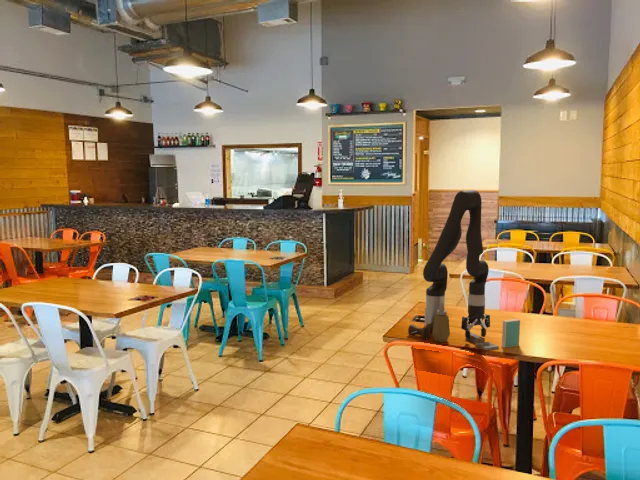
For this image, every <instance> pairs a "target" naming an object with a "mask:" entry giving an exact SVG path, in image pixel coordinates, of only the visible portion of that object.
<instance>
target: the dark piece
mask: <svg viewBox="0 0 640 480" xmlns="http://www.w3.org/2000/svg"><path fill="white" fill-rule="evenodd" d="M465 340H467V341H469V342H470V343H473V344H475V347H477V348H479V349H481V350H484V351H491V350H498V349H499V347H500V346H499V345H497V344H495V343H492V342H489V341H485V340H486V338H485V337H482V336H481V335H478V334H476V333H473V332H470V339H467V338H466V337H465Z"/></svg>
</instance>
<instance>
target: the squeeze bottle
mask: <svg viewBox="0 0 640 480" xmlns="http://www.w3.org/2000/svg"><path fill="white" fill-rule="evenodd" d="M447 311H448V310H446V309H445V307H444V304H443V303H441V304H440V308H439V310H437V314H436V315H435V317H434V324H433V332H431V333H432V336H433V340H434V341H435V342H437V341H439V342H438V343H447V342H448V340H449V337H450V335H451V332H450V331H451V330H450V317H449V315H448V312H447Z"/></svg>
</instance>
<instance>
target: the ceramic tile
mask: <svg viewBox="0 0 640 480" xmlns="http://www.w3.org/2000/svg"><path fill="white" fill-rule="evenodd" d="M520 327H521V320H520V319H519V318H514V319H505V320H502V332H501V333H502V335H501V347H502V348H505V347H506V348H512V347H519V346H520V329H521V328H520Z"/></svg>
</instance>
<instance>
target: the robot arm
mask: <svg viewBox="0 0 640 480" xmlns="http://www.w3.org/2000/svg"><path fill="white" fill-rule="evenodd" d="M453 198H454V199H453V201H452V204H451V207H450V210H449V214H448V217H447V219H446V222H445V223H444V226H443V228H442V230H441V233H440V234H439V237H438V240H437V242H436V244H435V247H434V249H433V251H432V253H431V254H430V257H429V258H428V260H427V261H426V263H425V265H424V268H423V271H422V275H423V279H424V280H425V281H426V282H428V283H432V284H431V285H429V287H427V288H426V289H425V290H426V291H425V292H426V294H425V308H424V327H426V325H427V324H430V323H431V322H434V317H435V315H436V314H437V310H439V308H440V304H441V303H443V304H444V308H445V307H446V306H445V304H446V303H445V302H446V291H447V288H448V278H449V277H448V274H449V273H448V267H447V265H446V264H445V263H443V262H444V260H445V259H447V257H449V256H450V255H451V254H452V253H453V252H454V251H455V250H456V248H457V246H458V244H459V242H460V241H461V239H462V238H461V237H462V235H463V234H462V233H463V232H462V231H463V230H462V226H461V225H462V219H463V217H464V216H465V213H466V212H467V211H468V213H469V214H468V215H469V223H468V227H467V230H466V234H465V243H466V249H467V250H466V252H467V254H466V260H465V261H466V263H465V268H466V272H467V273H468V275H469V276H470V277H473V279H472V280H471V281H469V285H468V298H467V314H468V316H462V317H461V330H463V331H464V332H465V333H464V335H465V336H464V337H465V339H466V338H467V339H470V333H471V330H472V328H474V326H480V327H481V329H480V330H481V331H480V336H481V337H483V338H485V337H486V335H487V329H488V328H490V327H491V315H489V314H488V313H485V312H486V295H485V294H486V283H487V280H488V276H489V264H488V263H487V261H485V260H483V259H480V256H481V255H482V254H483V253H484V247H483V239H482V195H481V194H480V192H479V191H478V190H475V189H470V190H469V189H468V190H464V189H463V190H460V191H458V192H457V193H456V194H455V196H454V197H453ZM467 339H466V340H467Z"/></svg>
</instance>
